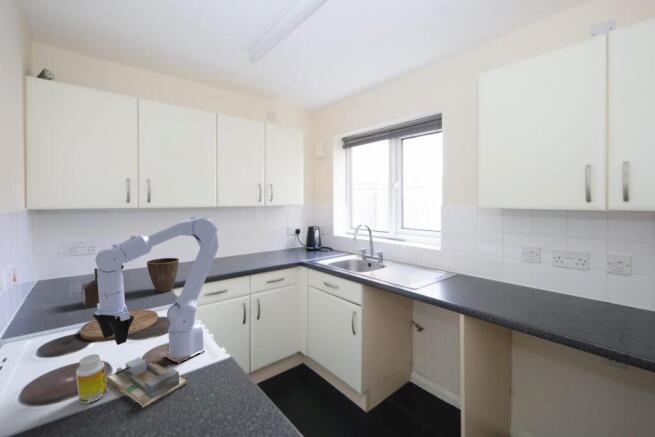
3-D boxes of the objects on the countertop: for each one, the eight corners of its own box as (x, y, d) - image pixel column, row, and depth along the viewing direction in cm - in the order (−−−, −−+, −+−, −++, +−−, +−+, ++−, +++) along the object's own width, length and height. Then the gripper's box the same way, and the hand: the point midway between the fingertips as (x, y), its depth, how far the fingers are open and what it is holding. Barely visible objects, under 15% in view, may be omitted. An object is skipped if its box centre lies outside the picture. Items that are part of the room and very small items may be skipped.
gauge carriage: (139, 367, 88) (139, 357, 88) (146, 371, 86) (146, 361, 86) (112, 379, 83) (112, 368, 82) (119, 384, 80) (119, 373, 80)
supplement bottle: (109, 396, 77) (105, 358, 76) (81, 408, 73) (77, 368, 72) (104, 385, 81) (100, 349, 80) (77, 396, 77) (72, 358, 76)
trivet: (172, 317, 128) (172, 312, 128) (116, 345, 104) (116, 340, 104) (125, 311, 135) (124, 307, 135) (62, 337, 111) (62, 332, 111)
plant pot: (145, 290, 164) (143, 260, 162) (175, 284, 174) (173, 256, 172) (152, 297, 153) (150, 265, 151) (183, 290, 163) (182, 260, 161)
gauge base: (148, 362, 93) (147, 348, 93) (186, 384, 82) (185, 368, 82) (106, 380, 84) (105, 365, 84) (143, 408, 73) (142, 390, 73)
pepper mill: (86, 309, 137) (83, 269, 135) (82, 303, 144) (79, 265, 143) (126, 300, 148) (124, 263, 146) (121, 295, 155) (119, 260, 154)
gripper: (83, 291, 85) (86, 339, 87) (106, 301, 78) (110, 353, 79) (111, 285, 91) (115, 329, 92) (136, 293, 83) (139, 341, 85)
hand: (114, 339), depth 86 cm, fingers open, 7 cm apart
